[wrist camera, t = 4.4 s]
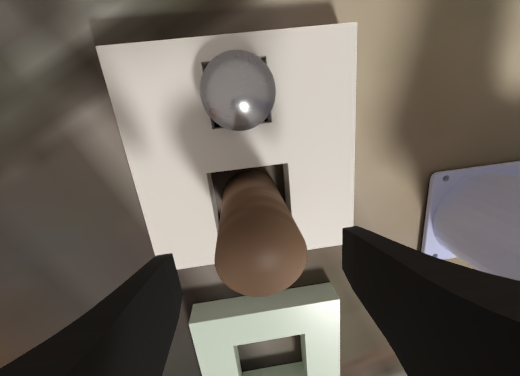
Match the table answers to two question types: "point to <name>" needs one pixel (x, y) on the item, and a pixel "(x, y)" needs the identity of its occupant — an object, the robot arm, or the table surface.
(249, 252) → the peg
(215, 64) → the grey metal knob
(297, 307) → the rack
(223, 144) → the socket block
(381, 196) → the table surface
